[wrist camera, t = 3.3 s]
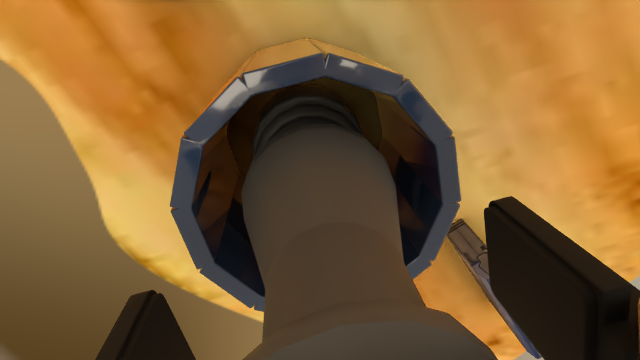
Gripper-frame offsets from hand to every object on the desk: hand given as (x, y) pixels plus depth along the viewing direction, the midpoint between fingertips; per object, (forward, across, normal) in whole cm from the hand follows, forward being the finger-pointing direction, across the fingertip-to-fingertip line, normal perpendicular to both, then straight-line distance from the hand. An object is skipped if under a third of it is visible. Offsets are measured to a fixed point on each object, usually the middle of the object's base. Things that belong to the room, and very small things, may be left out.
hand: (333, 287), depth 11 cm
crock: (+14, 0, 0) cm, 14 cm away
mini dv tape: (+15, -10, +12) cm, 22 cm away
